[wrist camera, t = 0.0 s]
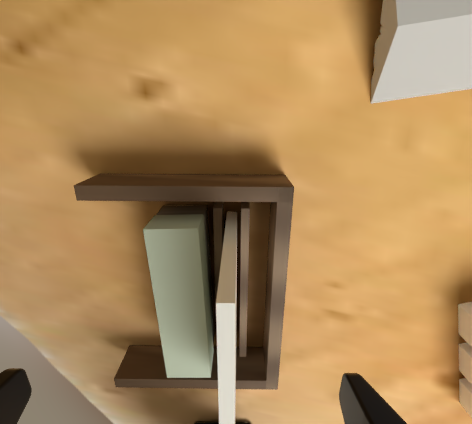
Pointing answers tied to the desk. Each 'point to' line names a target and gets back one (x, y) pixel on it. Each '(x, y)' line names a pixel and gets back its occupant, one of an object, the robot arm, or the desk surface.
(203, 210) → the offcut lower
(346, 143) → the desk surface
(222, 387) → the sheet
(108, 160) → the desk surface
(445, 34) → the crown molding
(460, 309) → the organizer
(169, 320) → the offcut upper
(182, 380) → the tray
